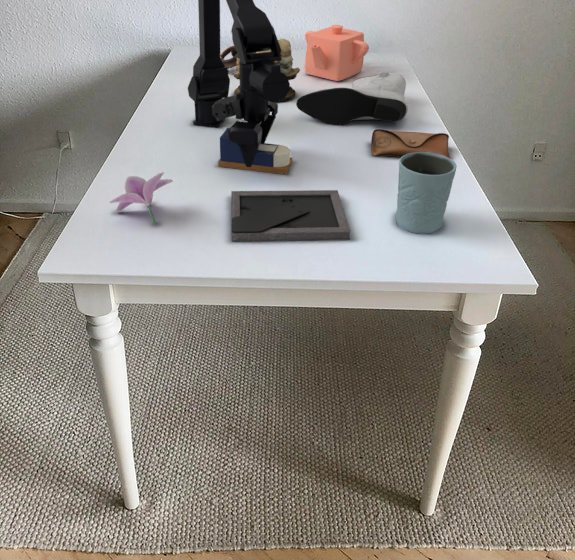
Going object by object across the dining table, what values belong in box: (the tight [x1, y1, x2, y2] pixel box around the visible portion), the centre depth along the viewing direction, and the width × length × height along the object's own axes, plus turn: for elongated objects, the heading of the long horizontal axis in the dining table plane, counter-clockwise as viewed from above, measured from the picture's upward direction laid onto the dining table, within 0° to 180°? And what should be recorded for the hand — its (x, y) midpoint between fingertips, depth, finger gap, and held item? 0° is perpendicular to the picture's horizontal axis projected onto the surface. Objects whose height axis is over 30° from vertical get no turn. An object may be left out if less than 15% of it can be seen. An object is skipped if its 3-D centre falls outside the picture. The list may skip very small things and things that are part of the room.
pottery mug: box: [220, 45, 238, 70], centre depth 188 cm, size 12×10×8 cm
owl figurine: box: [233, 38, 301, 103], centre depth 166 cm, size 18×12×17 cm, turn 92°
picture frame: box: [230, 189, 351, 242], centre depth 116 cm, size 16×2×21 cm
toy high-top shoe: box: [217, 127, 293, 175], centre depth 133 cm, size 15×6×7 cm, turn 78°
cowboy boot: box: [295, 72, 409, 126], centre depth 162 cm, size 10×28×25 cm
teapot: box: [304, 24, 370, 82], centre depth 184 cm, size 20×22×14 cm
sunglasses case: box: [370, 128, 452, 159], centre depth 142 cm, size 18×7×7 cm
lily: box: [109, 171, 174, 225], centre depth 113 cm, size 12×12×10 cm
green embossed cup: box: [395, 152, 458, 235], centre depth 113 cm, size 10×10×12 cm
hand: (254, 158), depth 134 cm, fingers open, 9 cm apart
